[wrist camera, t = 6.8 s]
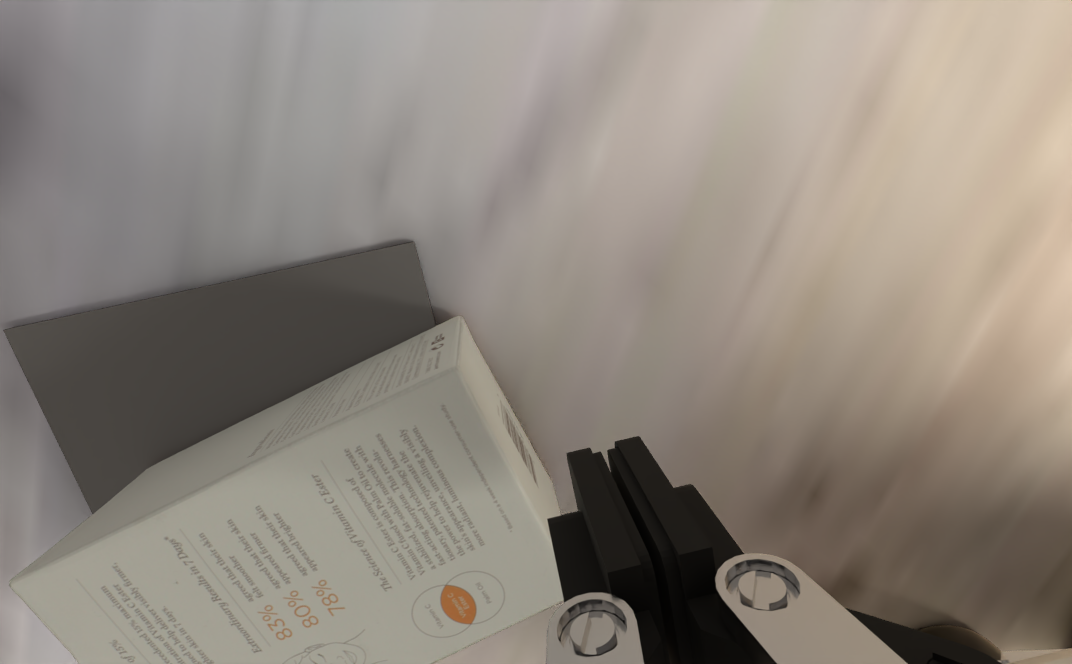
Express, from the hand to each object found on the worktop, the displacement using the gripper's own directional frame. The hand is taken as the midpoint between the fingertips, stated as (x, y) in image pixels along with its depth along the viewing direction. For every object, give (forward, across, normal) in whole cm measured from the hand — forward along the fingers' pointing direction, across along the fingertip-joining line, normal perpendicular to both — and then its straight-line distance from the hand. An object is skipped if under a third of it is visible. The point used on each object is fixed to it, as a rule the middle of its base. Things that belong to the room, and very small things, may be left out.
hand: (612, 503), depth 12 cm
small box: (+6, +2, +1) cm, 6 cm away
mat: (+9, +11, 0) cm, 14 cm away
